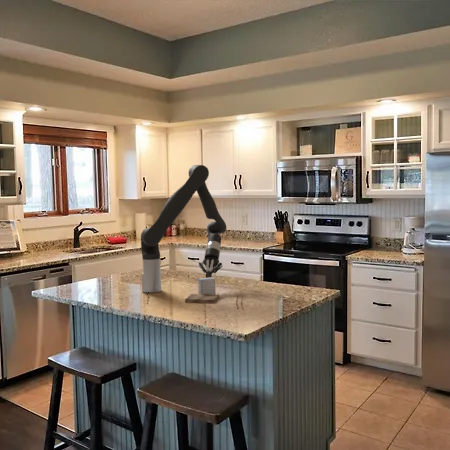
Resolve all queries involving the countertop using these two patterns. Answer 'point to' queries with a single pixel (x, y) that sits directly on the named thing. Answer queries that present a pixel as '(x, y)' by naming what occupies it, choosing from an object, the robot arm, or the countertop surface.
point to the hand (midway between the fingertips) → (208, 278)
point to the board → (202, 298)
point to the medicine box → (206, 286)
